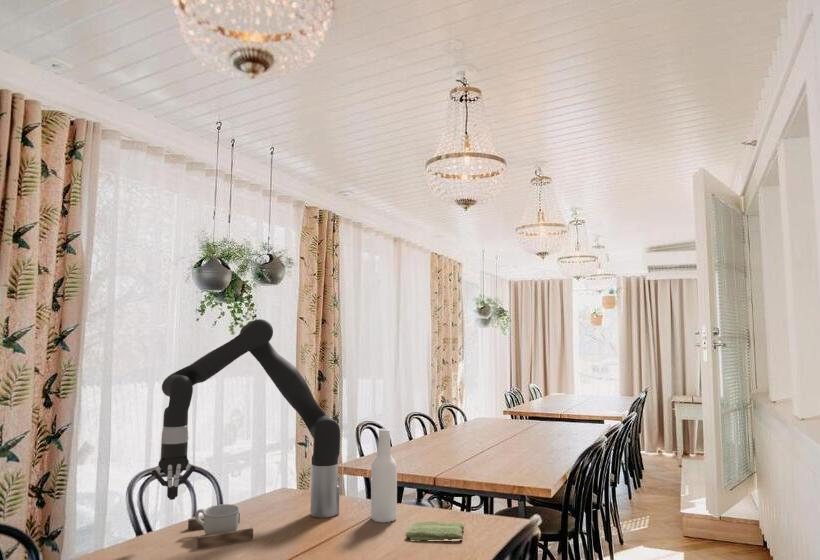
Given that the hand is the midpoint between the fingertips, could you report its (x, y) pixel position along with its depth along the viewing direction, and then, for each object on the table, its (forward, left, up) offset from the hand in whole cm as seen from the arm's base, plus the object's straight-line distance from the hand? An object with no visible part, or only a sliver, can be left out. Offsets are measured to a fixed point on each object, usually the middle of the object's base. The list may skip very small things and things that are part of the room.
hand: (172, 499), depth 174 cm
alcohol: (-66, +11, -13) cm, 69 cm away
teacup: (-13, 0, -13) cm, 18 cm away
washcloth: (-74, +33, -13) cm, 82 cm away
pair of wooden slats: (-14, 0, -13) cm, 19 cm away
